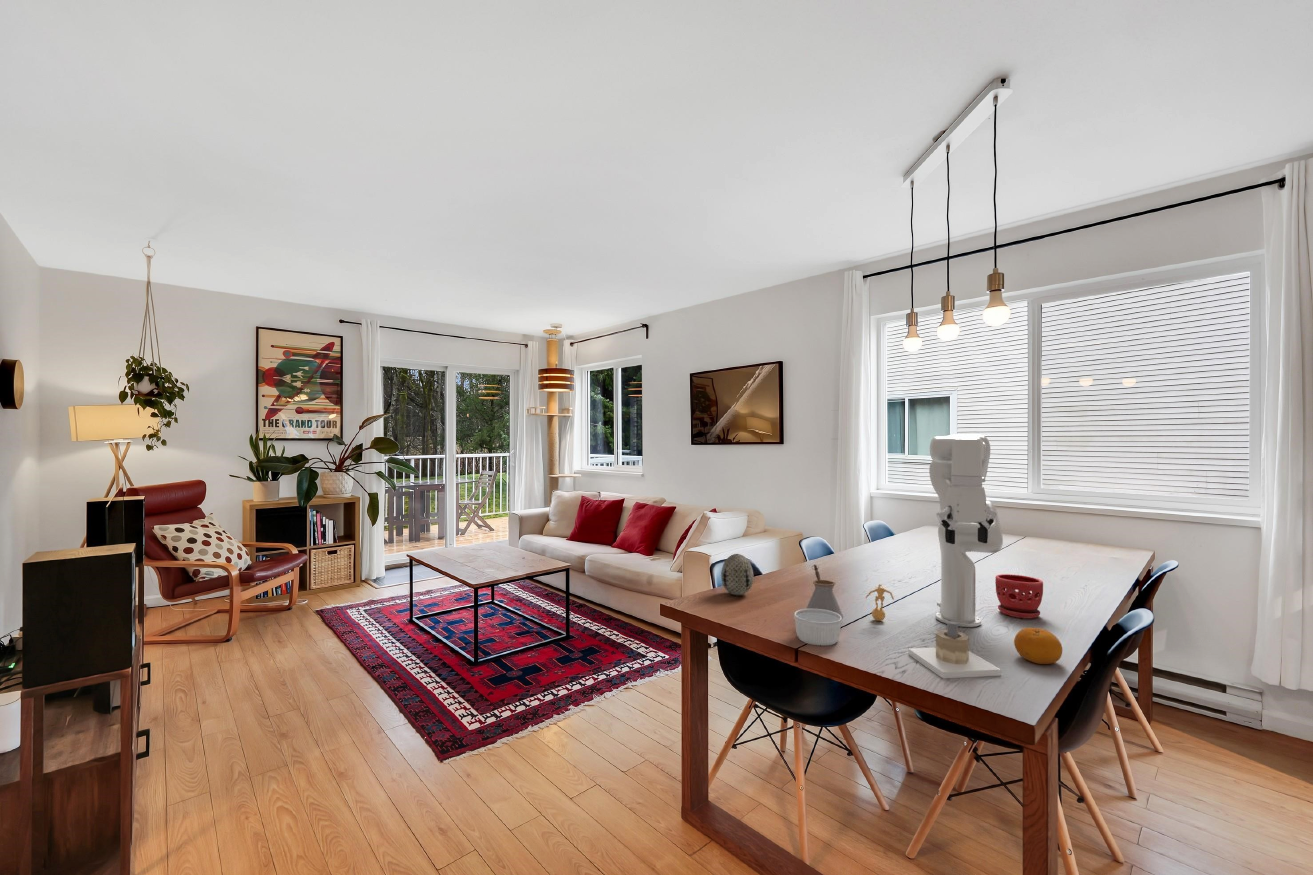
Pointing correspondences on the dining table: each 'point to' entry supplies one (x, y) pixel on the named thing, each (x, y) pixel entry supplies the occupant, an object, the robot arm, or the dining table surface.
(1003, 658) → the dining table surface
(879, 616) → the figurine
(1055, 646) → the fruit
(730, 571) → the decorative egg
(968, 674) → the post board
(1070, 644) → the dining table surface
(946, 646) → the bead
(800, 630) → the ramekin
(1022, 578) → the plant pot
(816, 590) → the coffee pot
